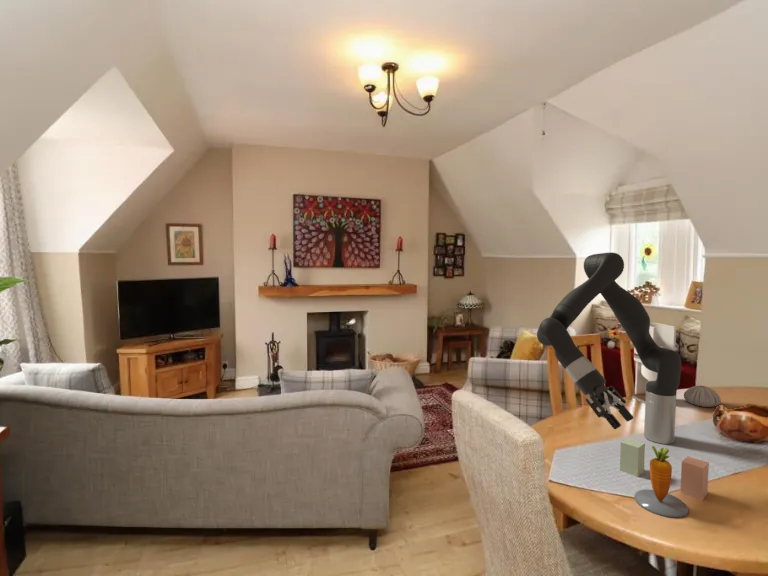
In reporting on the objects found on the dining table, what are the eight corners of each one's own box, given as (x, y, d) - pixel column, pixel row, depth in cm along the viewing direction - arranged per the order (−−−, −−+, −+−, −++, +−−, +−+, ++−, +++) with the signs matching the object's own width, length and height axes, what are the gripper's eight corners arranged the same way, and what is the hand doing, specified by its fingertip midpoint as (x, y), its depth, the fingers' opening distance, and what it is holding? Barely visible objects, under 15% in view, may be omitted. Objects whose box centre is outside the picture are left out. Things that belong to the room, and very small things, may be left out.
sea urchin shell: (688, 407, 185) (689, 389, 184) (679, 397, 198) (680, 380, 197) (725, 410, 180) (726, 392, 180) (713, 400, 193) (714, 383, 192)
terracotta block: (686, 486, 122) (687, 456, 122) (707, 493, 118) (708, 462, 118) (680, 492, 119) (681, 461, 118) (701, 500, 115) (703, 468, 115)
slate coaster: (644, 486, 122) (644, 484, 122) (694, 505, 113) (694, 503, 113) (627, 502, 115) (627, 500, 115) (679, 523, 105) (679, 521, 105)
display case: (632, 397, 197) (635, 323, 194) (653, 396, 198) (656, 322, 196) (650, 406, 186) (653, 327, 183) (672, 405, 187) (676, 326, 184)
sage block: (626, 465, 135) (627, 437, 134) (643, 471, 131) (645, 443, 130) (619, 470, 132) (620, 442, 131) (637, 476, 128) (638, 447, 127)
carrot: (644, 496, 116) (645, 443, 115) (661, 495, 117) (662, 442, 116) (658, 507, 111) (659, 451, 110) (675, 505, 112) (677, 450, 111)
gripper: (582, 372, 121) (624, 424, 113) (605, 364, 130) (645, 411, 122) (564, 386, 125) (603, 436, 117) (587, 377, 134) (624, 423, 126)
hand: (624, 423), depth 120 cm, fingers open, 8 cm apart
